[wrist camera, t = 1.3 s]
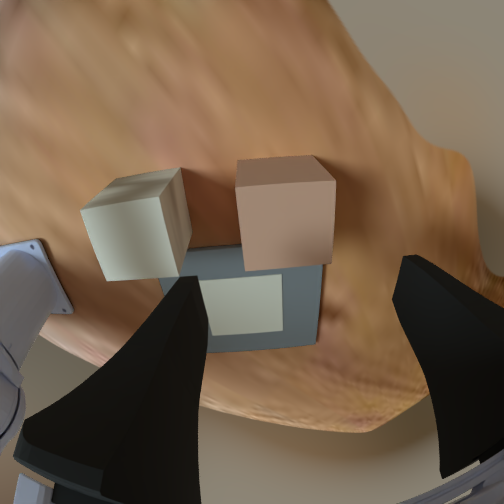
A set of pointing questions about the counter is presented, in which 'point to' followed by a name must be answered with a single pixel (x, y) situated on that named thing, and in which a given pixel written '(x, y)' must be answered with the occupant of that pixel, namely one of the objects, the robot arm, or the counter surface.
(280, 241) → the block brown
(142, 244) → the block cream
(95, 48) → the counter surface
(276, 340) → the board
